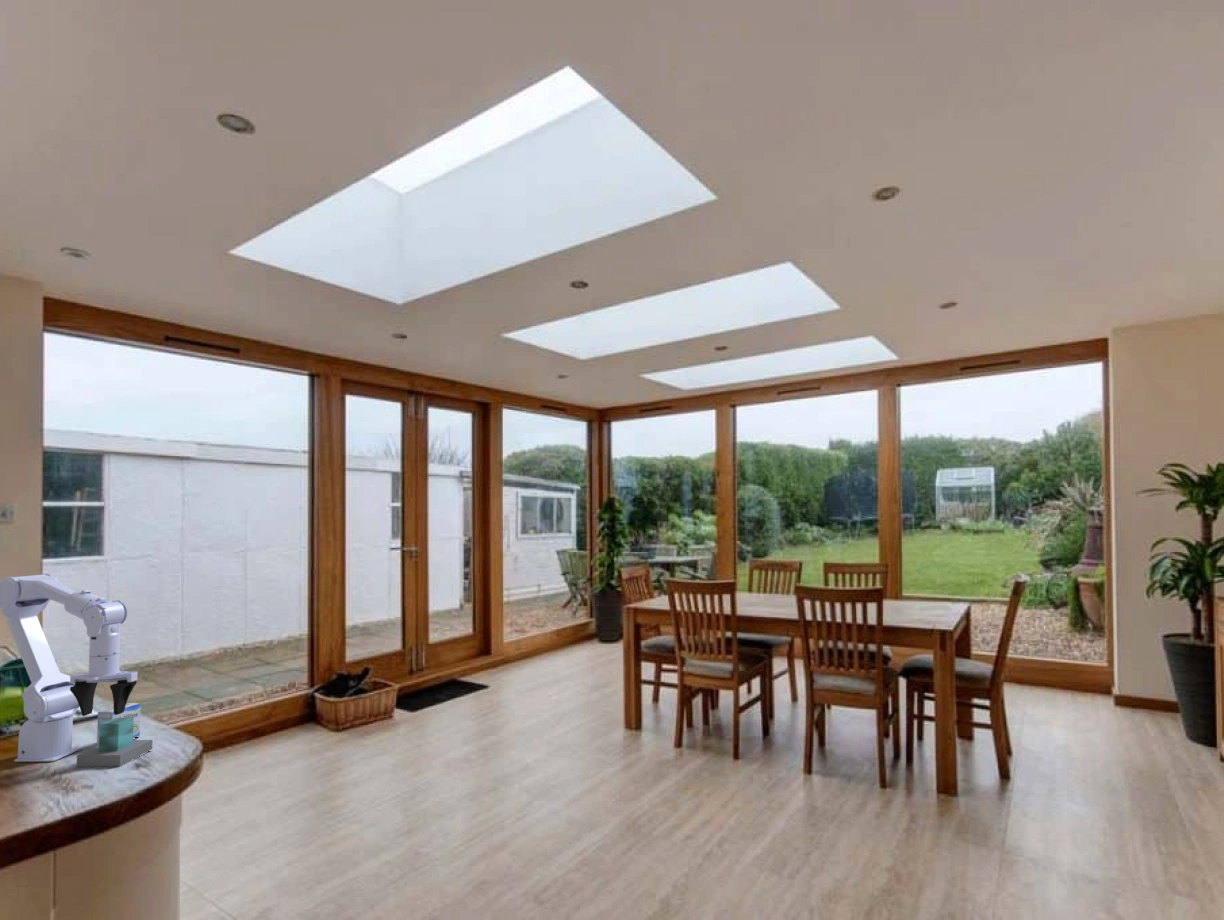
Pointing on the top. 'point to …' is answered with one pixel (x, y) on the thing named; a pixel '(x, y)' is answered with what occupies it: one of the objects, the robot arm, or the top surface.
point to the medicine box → (129, 712)
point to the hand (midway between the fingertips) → (103, 714)
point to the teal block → (116, 734)
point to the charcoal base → (113, 755)
